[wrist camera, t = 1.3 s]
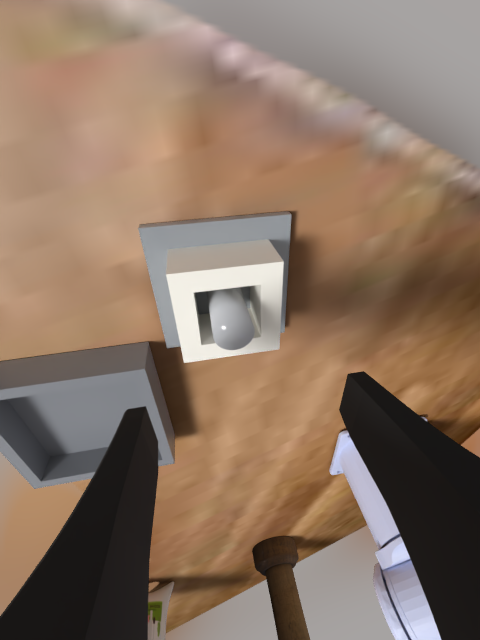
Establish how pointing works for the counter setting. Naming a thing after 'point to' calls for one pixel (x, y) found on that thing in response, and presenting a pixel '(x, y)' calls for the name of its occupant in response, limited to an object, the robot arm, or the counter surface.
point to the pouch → (158, 612)
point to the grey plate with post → (223, 304)
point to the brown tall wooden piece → (282, 585)
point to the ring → (223, 273)
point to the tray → (76, 410)
